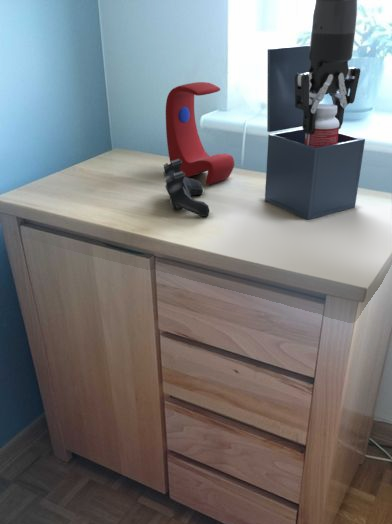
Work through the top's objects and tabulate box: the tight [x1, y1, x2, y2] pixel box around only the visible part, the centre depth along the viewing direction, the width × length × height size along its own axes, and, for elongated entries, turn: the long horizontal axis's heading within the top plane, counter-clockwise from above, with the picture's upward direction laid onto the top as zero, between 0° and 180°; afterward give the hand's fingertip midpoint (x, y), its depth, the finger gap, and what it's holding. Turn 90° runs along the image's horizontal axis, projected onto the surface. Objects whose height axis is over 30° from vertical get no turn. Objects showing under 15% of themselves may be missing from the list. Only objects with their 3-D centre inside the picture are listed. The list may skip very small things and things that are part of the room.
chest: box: [264, 127, 366, 220], centre depth 112 cm, size 14×13×13 cm
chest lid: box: [266, 44, 317, 133], centre depth 109 cm, size 14×13×1 cm
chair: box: [165, 81, 235, 186], centre depth 126 cm, size 15×7×20 cm, turn 47°
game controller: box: [163, 159, 211, 217], centre depth 114 cm, size 16×7×10 cm, turn 5°
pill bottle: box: [305, 103, 340, 148], centre depth 107 cm, size 6×6×11 cm
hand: (322, 130), depth 106 cm, fingers closed on pill bottle, 6 cm apart
